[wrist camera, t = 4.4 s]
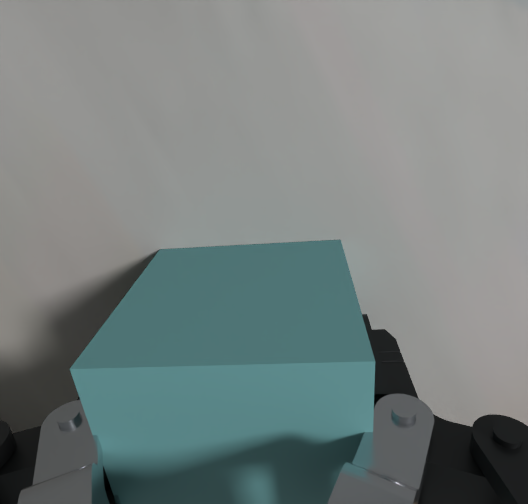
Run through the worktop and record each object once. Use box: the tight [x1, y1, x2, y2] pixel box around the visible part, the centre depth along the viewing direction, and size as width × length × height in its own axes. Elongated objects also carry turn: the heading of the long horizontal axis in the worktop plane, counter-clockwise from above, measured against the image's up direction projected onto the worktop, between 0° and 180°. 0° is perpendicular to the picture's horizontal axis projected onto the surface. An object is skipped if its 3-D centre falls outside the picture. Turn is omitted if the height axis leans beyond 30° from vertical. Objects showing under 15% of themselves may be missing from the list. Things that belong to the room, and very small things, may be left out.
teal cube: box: [70, 240, 375, 504], centre depth 12 cm, size 6×6×6 cm
